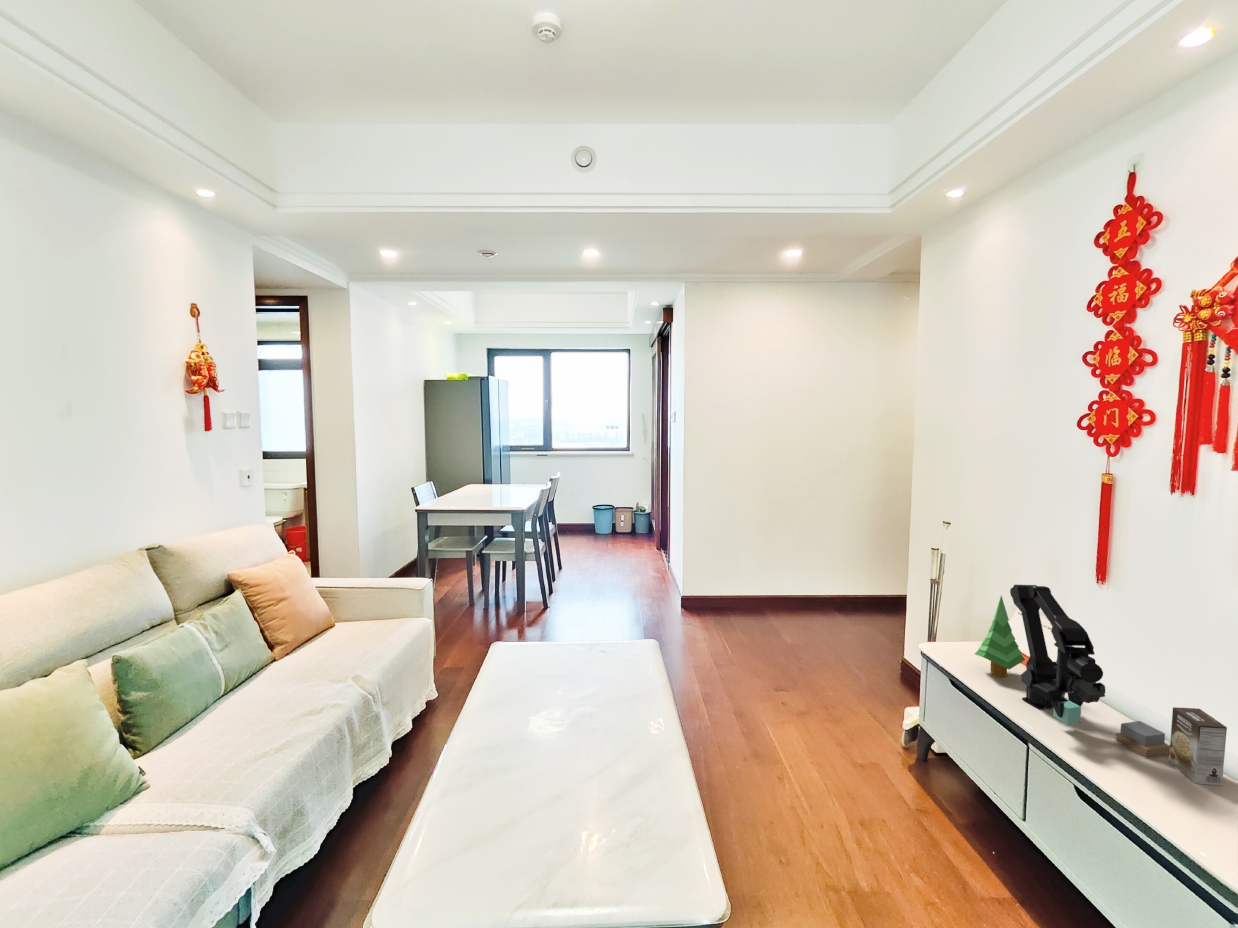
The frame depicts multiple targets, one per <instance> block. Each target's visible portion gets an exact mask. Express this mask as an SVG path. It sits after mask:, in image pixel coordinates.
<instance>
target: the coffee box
mask: <svg viewBox="0 0 1238 928" xmlns="http://www.w3.org/2000/svg"><path fill="white" fill-rule="evenodd" d="M1170 729H1171V731H1170V744H1169V745H1170V755H1168V758H1169V760H1168V762H1169V763H1170V764H1171V765H1172V766H1174V767H1175V768H1176V769H1177V770H1178V771H1179V772H1181V773H1182V774H1183V775H1184V776H1185V777H1186V778H1188V779H1189V780H1190V781H1191V782H1193V783H1194V784H1196V785H1198V784H1199V785H1210V786H1222V785H1223V777H1224V776H1223V775H1224V766H1225V755H1226V753H1225V752H1226V743H1227V742H1226V741H1227V733H1228V732H1227V731H1228V730H1227V729H1228V727H1227V726H1226V725H1224V724H1222V723H1221V722H1220V721H1219V720H1217V719H1215V718H1214V717H1213V716H1211V715H1209V714H1208V713H1206V712H1205V711H1204V710H1202V709H1201V708H1193V707H1176V706H1175V707H1172V716H1171V728H1170Z"/></svg>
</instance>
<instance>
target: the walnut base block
mask: <svg viewBox="0 0 1238 928" xmlns="http://www.w3.org/2000/svg"><path fill="white" fill-rule="evenodd" d="M1115 742H1117V743H1119V744H1120V745H1122V746H1124V747H1125V748H1127V749H1129V750H1131V751H1133V752H1134V753H1136V754H1138V755H1139V756H1142V757H1144V758H1145V759H1151V758H1155V757H1156V758H1157V757H1162V756H1169V755H1170V744H1168V743H1166V742H1165V744H1159V745H1152V746H1146V747H1145V746H1143V745H1141V744H1139V743H1137V742H1136V741H1134V740H1132V739H1130V738H1128V737H1126V736H1124V735H1123V734H1121V732H1116V735H1115Z"/></svg>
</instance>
